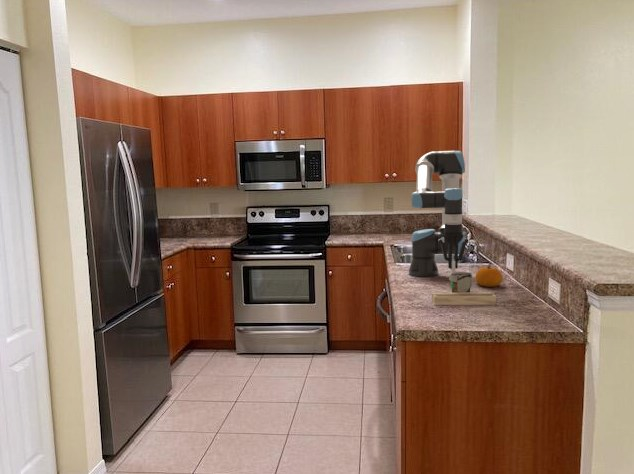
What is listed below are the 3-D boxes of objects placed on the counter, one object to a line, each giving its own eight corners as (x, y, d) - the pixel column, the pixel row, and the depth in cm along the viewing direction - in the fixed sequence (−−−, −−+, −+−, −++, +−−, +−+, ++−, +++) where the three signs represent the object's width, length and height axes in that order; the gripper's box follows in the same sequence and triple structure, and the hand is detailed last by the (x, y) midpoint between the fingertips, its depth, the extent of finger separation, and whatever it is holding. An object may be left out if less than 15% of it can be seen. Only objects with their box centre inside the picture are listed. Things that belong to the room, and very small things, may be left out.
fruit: (504, 284, 224) (505, 263, 222) (498, 289, 214) (499, 267, 213) (479, 281, 230) (479, 261, 229) (472, 286, 220) (472, 265, 219)
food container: (458, 293, 209) (459, 270, 208) (471, 295, 205) (472, 272, 204) (443, 298, 201) (443, 275, 200) (456, 301, 197) (456, 277, 195)
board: (431, 301, 198) (431, 291, 197) (491, 300, 196) (491, 291, 195) (434, 304, 192) (434, 295, 191) (495, 304, 190) (495, 294, 189)
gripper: (439, 224, 208) (439, 277, 211) (470, 224, 207) (469, 277, 210) (436, 222, 215) (436, 273, 219) (466, 221, 214) (465, 273, 218)
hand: (452, 275), depth 215 cm, fingers closed
